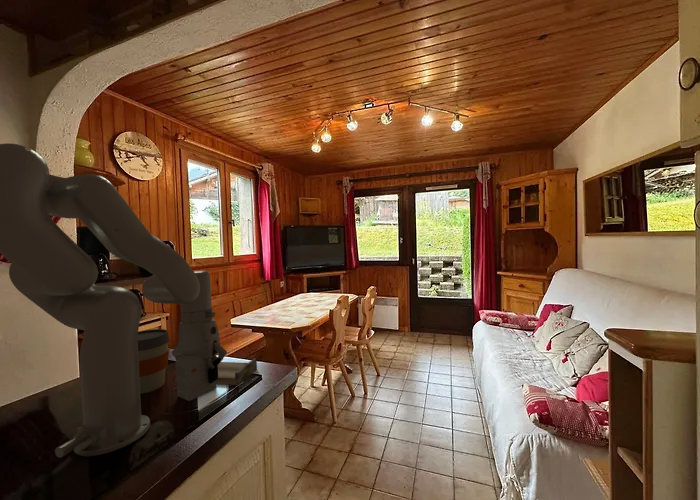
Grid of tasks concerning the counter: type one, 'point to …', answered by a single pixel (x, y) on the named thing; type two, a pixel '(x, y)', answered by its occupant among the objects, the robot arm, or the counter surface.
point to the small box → (192, 377)
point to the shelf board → (235, 372)
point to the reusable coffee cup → (152, 358)
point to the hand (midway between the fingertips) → (200, 380)
